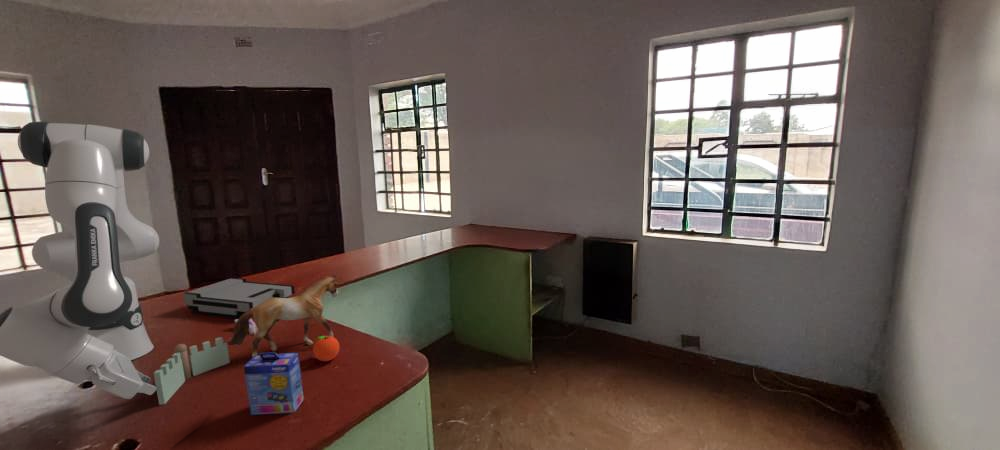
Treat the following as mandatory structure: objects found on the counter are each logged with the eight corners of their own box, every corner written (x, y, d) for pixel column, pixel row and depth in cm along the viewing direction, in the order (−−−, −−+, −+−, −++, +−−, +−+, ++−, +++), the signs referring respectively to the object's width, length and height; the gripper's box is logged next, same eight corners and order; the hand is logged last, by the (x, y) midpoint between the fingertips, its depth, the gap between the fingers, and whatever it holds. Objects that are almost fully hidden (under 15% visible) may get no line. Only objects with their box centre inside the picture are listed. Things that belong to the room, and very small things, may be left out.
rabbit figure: (269, 336, 132) (248, 320, 140) (268, 320, 131) (247, 305, 139) (249, 343, 127) (228, 326, 135) (248, 327, 126) (227, 310, 134)
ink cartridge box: (248, 416, 88) (240, 356, 86) (261, 401, 94) (253, 344, 91) (294, 413, 89) (287, 353, 87) (304, 398, 94) (298, 342, 92)
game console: (251, 322, 142) (248, 300, 141) (186, 314, 151) (183, 293, 150) (295, 301, 162) (293, 282, 160) (236, 295, 171) (233, 277, 169)
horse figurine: (343, 332, 131) (337, 272, 127) (348, 341, 124) (342, 278, 121) (230, 360, 114) (220, 292, 110) (229, 372, 107) (219, 300, 104)
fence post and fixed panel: (181, 382, 101) (175, 347, 100) (177, 379, 103) (171, 345, 101) (230, 364, 110) (226, 331, 109) (227, 361, 112) (222, 329, 110)
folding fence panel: (180, 381, 101) (175, 352, 100) (185, 380, 102) (180, 351, 100) (159, 405, 92) (153, 373, 90) (164, 404, 92) (159, 372, 91)
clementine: (305, 363, 111) (303, 339, 110) (324, 351, 118) (322, 329, 116) (328, 367, 109) (325, 343, 107) (345, 355, 115) (343, 332, 114)
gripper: (106, 360, 79) (172, 388, 87) (95, 335, 92) (154, 361, 100) (75, 391, 76) (147, 416, 84) (69, 360, 89) (132, 385, 97)
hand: (151, 386), depth 92 cm, fingers open, 4 cm apart
